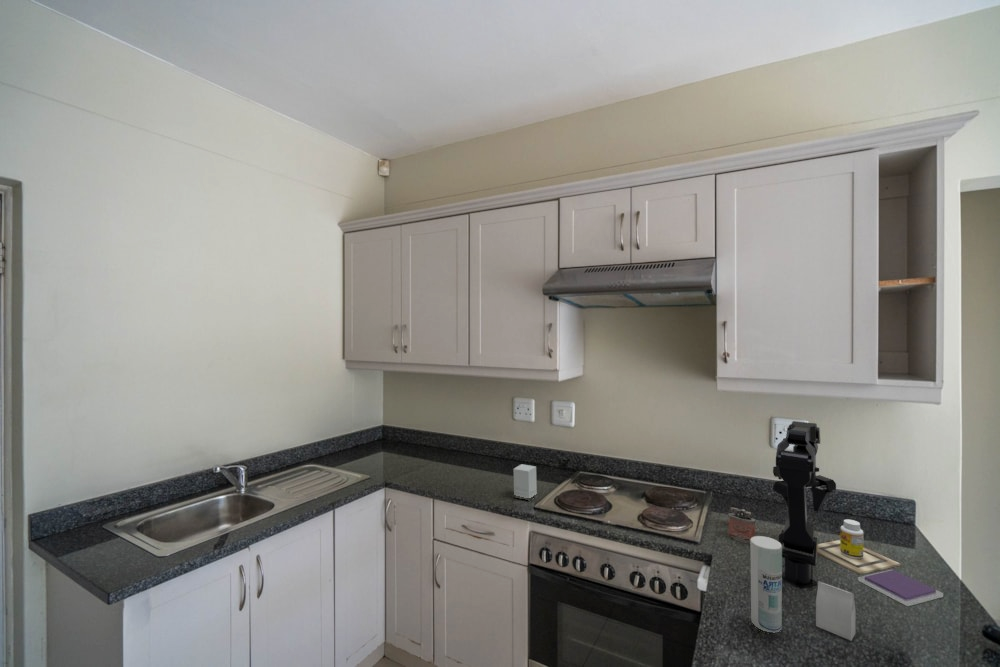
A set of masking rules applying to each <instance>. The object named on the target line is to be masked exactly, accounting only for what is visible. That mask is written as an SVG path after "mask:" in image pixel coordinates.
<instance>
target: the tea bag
mask: <svg viewBox="0 0 1000 667" xmlns="http://www.w3.org/2000/svg"><path fill="white" fill-rule="evenodd" d="M817 583H818V584H817V593H816V597H815V598H816V599H815V627H817V628H820V629H822V630H824V631H826V632H829V633H832V634H835V636H839V637H841V638H843V639H846V640H848V641H851V642H852V641H853V639H854V637H855V635H856V605H855V604H856V602H855V594H854V593H853V592H851V591H848V590H845V589H842V588H839V587H837V586H833V585H831V584H827V583H826V582H822V581H817Z"/></svg>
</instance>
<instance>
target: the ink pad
mask: <svg viewBox="0 0 1000 667" xmlns="http://www.w3.org/2000/svg"><path fill="white" fill-rule="evenodd" d="M857 581H858V582H859V583H862V584H863V585H865V586H868V587H870V588H872V589H873V590H876V591H878V592H879V593H881V594H883V595H885V596H887V597H889V598H891V599H893V600H894V601H896V602H898V603H901V604H902V605H905V607H911V606H915V605H918V604H923V603H926V602H930V601H933V600H938V599H940V598H944V593H943V592H942V591H940V590H937V589H935V588H933V587H930V586H929V585H927V584H924V583H922V582H920V581H918V580H916V579H914V578H911V577H910V576H907V575H905V574H903V573H901V572H898V571H896V570H894V569H893V568H890V569H889V570H887V569H886V570H884V571H883V570H882V571H879V572H878V571H877V572H875V573H874V572H873V573H869V574H864V575H862V576H861V575H860V576H858V577H857Z"/></svg>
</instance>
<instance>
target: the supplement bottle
mask: <svg viewBox="0 0 1000 667" xmlns="http://www.w3.org/2000/svg"><path fill="white" fill-rule="evenodd" d="M839 532H840V533H839V534H840V538H839V540H840V551H841V553H842V554H843V555H845V556H847V557H850V558H853V559H861V558H863V548H865V547H864V541H865V540H864V537H865V536H864V530H863V529H862V528H861V523H860V522H859V521H857V520H853V519H844V520H843V525H841V526H840V531H839Z"/></svg>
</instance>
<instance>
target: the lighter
mask: <svg viewBox="0 0 1000 667" xmlns="http://www.w3.org/2000/svg"><path fill="white" fill-rule="evenodd" d="M730 512H731V513H730ZM730 512H729V513H728V538H730V539H732V538H733V539H732V540H735V539H736V540H735V541H737V542H741V543H746V544H750V540H751V538H752V537H754V536H756V519H755V518H753V517H752V512H751V511H748V510H746V509H743V508H742V509H739V508H737V507H730Z"/></svg>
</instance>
